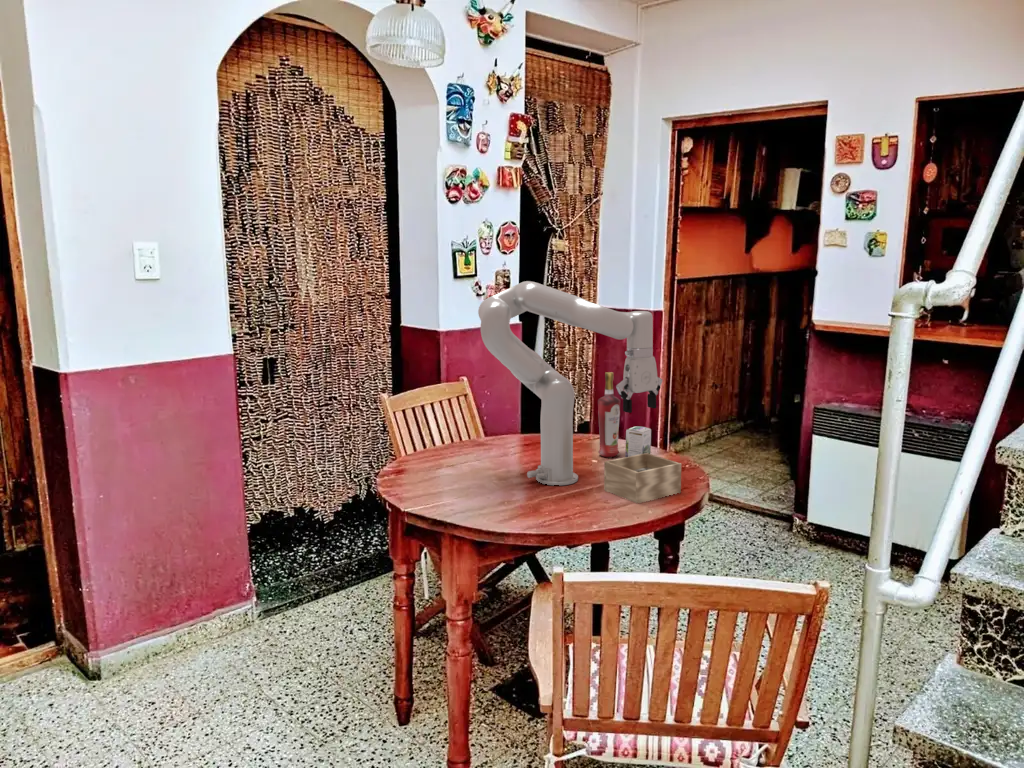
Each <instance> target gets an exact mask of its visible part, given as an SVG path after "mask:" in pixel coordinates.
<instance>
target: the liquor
mask: <svg viewBox="0 0 1024 768" xmlns="http://www.w3.org/2000/svg"><path fill="white" fill-rule="evenodd" d="M604 376H605V378H604V379H605V387H604V396H602V397H600V398H598V399H597V408H598V412H597V413H598V427H599V429H598V430H599V450H598V453H599V455H600V456H601V457H603V458H607V457H612V458H614V457H616V456H617V455H618V454H619V453H620V451H619V427H620V416H621V399H619V398H618V397H617V396H616V395H615V394H614V384H613V381H614V372H612V371H611V372H610V371H608V372H606V371H605V373H604Z"/></svg>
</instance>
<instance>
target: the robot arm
mask: <svg viewBox="0 0 1024 768" xmlns="http://www.w3.org/2000/svg"><path fill="white" fill-rule="evenodd" d="M525 312H529V313H532V314H535V315H539V316H542V317H544V318H547V319H551V320H554V321H557V322H559V323H562V324H566V325H569V326H571V327H576V328H581V329H585V330H588V331H591V332H595V333H598V334H601V335H604V336H607V337H610V338H613V339H615V340H625V339H626V351H624V354H625V356H626V358H625V361H624V368H623V376H622V377H623V379H622V380H621V381H620V382H619V383H617V384H616V385H615V387H616V390H617V392H618V395H619V397H620V398H621V399H622V411H623V412H624V413H629V414H630V413H632V411H633V400H632V399H631V398H632V396H633V394H635V393H636V394H638V393H639V394H640V393H644V392H648V393H647V401H646V402H647V407H648V408H650V409H657V395H658V394H659V391H660V389H661V386H662V383H663V381H664V380H663V379H662V378H661V377H659V376H658V368H657V362H656V358H655V356H654V355H653V352H654V349H653V348H654V347H653V345H654V343H653V340H654V339H653V338H654V337H653V336H654V335H653V334H654V332H653V329H654V327H653V325H654V324H653V323H654V322H653V321H654V317H653V313H652V312H650V311H647V310H634V311H629V312H628V311H627V312H626V311H618V310H614V309H611V308H609V307H606V306H603V305H600V304H597V303H594V302H591V301H589V300H587V299H585V298H582V297H580V296H578V295H574V294H571V293H569V292H565V291H562V290H560V289H557V288H553V287H551V286H547V285H545V284H541V283H539V282H535V281H531V280H526V281H525V280H524V281H522V282H520V283H517V284H515V285H513V286H510V287H509V288H507V289H504V290H502V291H501V292H498V293H496V294H494V295H492V296H489V297H487V298H486V299H484V300H483V301H482V302H481V303H480V304H479V306H478V311H477V315H478V317H479V320H480V336H481V340H482V342H483V345H484V346H485V348H486V349H487V351H488V352H490V354H491V355H492V356H494V358H495V359H497V360H498V361H499V362H500V363H501V364H502V365H503V367H506V369H508V370H509V371H510V373H511V375H513V376H514V377H515V378H516V379H517V380H518V381H520V383H522V384H523V385H524V386H525V387H526V388H527V389H529V390H530V392H532V393H533V394H535V395H536V396H537V397H538V398H539V399H540V400H541V404H540V405H541V407H540V422H539V423H540V425H539V426H540V464H539V465H537V468H536V469H535V470H528V471H527V473H526V476H527V478H528V479H530V478H535V480H537V481H538V482H537V481H536V482H537V483H539V482H540V483H539V484H541V483H542V485H545V484H547V486H554V485H559V486H560V487H561V486H568V485H572V484H573V485H574V484H575V483H577V482H578V480H579V475H578V474H577V473H575V472H574V428H573V427H574V424H573V423H574V422H573V421H574V420H573V419H574V405H575V389H574V386H573V384H572V383H571V381H570V380H569V379H568V378H567V377H565V376H564V375H562V374H560V373H559V372H558V371H557V370H556V369H554V367H553V366H551V365H550V364H549V363H547V361H545V360H544V358H542V357H541V355H540V354H539V353H537V352H536V351H535V350H533V349H531V348H530V347H528V345H526V344H525V343H524V342H523V341H522V340H521V339H520V338H519V337H518V336H517V335H516V334H514V332H513V331H512V329H511V325H510V322H511V319H513V318H515V317H517V316H519V315H521V314H524V313H525ZM559 486H558V487H559Z"/></svg>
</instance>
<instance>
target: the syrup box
mask: <svg viewBox="0 0 1024 768" xmlns="http://www.w3.org/2000/svg"><path fill="white" fill-rule="evenodd" d="M651 445H652V429H651V428H650V427H646V426H638V425H637V426H633V427H630V428H627V429H626V431H625V457H629V456H634V455H639V454H644V453H649V454H651ZM625 457H624V458H625Z"/></svg>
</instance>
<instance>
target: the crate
mask: <svg viewBox="0 0 1024 768" xmlns="http://www.w3.org/2000/svg"><path fill="white" fill-rule="evenodd" d="M603 467H604V474H603V475H604V477H603V478H604V479H603V481H604V482H603V484H604V485H603V486H604V487H603V490H605V491H604V492H607V493H609V492H610V493H609V494H612V493H613V494H612V495H614V494H615V495H614V496H617V495H618V496H617V497H619V496H620V497H619V498H622V497H623V499H624V498H626V499H625V500H627V499H628V500H627V501H630V502H632V501H633V502H632V503H635V504H637V503H639V504H642V502H643V503H646V501H647V502H650V500H651V501H654V499H655V500H659V499H661V498H662V497H663V498H665V496H667V497H670V496H669V495H671V496H674V495H673V494H675V495H678V494H677V493H679V494H681V491H682V463H681V462H677V461H675V460H670V459H667V458H664V457H661V456H657V455H655V454H651V453H650V454H649V453H644V454H639V455H634V456H629V457H621V458H616V459H612V460H611V459H610V460H607V461H604V465H603ZM658 498H659V499H658Z"/></svg>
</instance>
